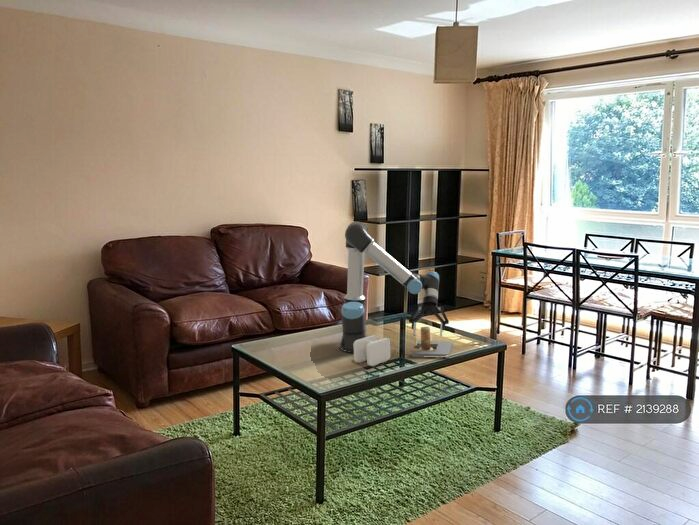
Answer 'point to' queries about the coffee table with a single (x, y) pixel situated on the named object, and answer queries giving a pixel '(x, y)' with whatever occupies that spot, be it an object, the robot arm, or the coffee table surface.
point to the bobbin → (425, 339)
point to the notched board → (441, 347)
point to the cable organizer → (372, 350)
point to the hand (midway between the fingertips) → (427, 335)
